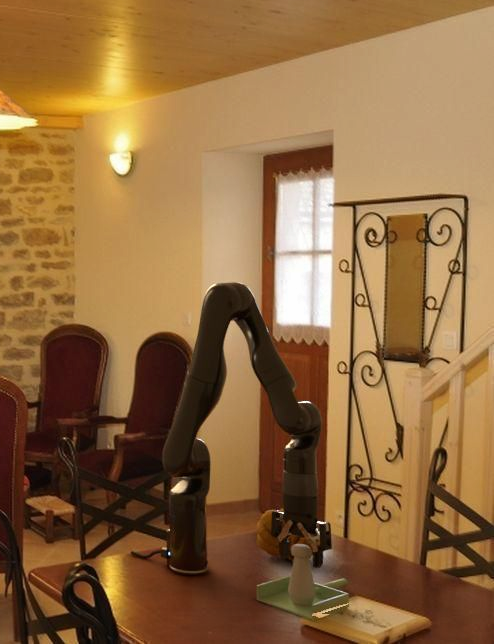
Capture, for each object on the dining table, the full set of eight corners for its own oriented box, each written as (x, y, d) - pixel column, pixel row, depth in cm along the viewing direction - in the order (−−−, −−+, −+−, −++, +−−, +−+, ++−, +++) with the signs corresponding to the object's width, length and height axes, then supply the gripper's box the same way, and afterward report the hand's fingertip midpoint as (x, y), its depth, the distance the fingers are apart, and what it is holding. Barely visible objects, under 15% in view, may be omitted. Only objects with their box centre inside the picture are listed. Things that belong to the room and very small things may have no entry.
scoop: (313, 620, 192) (313, 605, 192) (256, 600, 205) (256, 585, 205) (375, 599, 204) (375, 584, 204) (318, 581, 217) (317, 567, 217)
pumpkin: (255, 572, 229) (249, 529, 248) (321, 584, 226) (309, 538, 245) (264, 526, 225) (256, 485, 244) (331, 537, 222) (318, 495, 240)
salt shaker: (317, 608, 198) (317, 549, 198) (290, 606, 199) (290, 548, 199) (312, 598, 204) (311, 542, 204) (286, 597, 205) (285, 541, 205)
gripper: (263, 487, 206) (263, 557, 206) (317, 499, 194) (318, 574, 194) (284, 482, 210) (284, 551, 210) (338, 494, 198) (339, 568, 198)
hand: (300, 562), depth 202 cm, fingers open, 8 cm apart
